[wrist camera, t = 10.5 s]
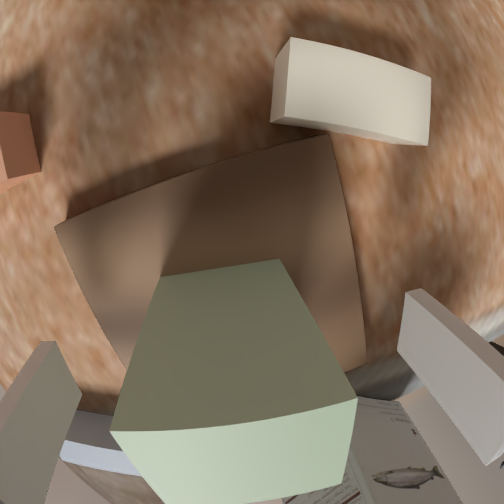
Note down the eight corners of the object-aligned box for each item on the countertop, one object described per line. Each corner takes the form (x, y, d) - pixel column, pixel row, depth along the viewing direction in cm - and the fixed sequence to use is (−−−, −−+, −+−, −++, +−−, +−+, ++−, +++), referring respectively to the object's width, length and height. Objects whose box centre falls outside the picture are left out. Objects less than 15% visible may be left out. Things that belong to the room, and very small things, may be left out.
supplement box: (400, 398, 19) (482, 526, 7) (343, 457, 21) (392, 577, 9) (324, 383, 17) (406, 567, 5) (267, 450, 19) (301, 603, 7)
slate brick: (72, 430, 17) (62, 460, 14) (60, 404, 16) (47, 435, 13) (148, 443, 18) (144, 476, 15) (142, 417, 17) (135, 453, 14)
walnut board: (65, 220, 12) (53, 226, 11) (319, 134, 12) (328, 133, 11) (164, 407, 16) (162, 421, 15) (359, 351, 17) (367, 363, 15)
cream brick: (269, 123, 12) (284, 116, 10) (274, 59, 11) (290, 36, 9) (390, 144, 13) (427, 145, 10) (394, 86, 12) (431, 77, 9)
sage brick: (159, 277, 12) (109, 431, 5) (279, 258, 13) (357, 397, 5) (181, 353, 14) (169, 507, 6) (286, 337, 14) (341, 483, 7)
